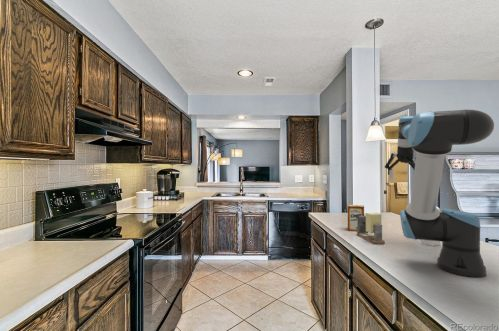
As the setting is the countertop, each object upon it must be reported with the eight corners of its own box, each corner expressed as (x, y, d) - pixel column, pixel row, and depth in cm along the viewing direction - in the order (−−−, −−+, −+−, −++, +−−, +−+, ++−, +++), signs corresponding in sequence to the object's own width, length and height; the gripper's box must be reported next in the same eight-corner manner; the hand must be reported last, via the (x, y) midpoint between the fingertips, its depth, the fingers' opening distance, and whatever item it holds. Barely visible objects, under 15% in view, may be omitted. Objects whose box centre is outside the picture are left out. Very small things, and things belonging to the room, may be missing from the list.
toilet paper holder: (384, 244, 136) (384, 222, 136) (373, 244, 135) (373, 222, 135) (366, 234, 154) (366, 215, 154) (356, 235, 153) (356, 215, 153)
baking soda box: (347, 230, 163) (347, 205, 163) (347, 228, 170) (347, 204, 169) (364, 232, 160) (364, 206, 160) (363, 229, 166) (363, 204, 166)
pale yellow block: (381, 233, 139) (381, 214, 139) (370, 233, 138) (370, 214, 138) (376, 230, 144) (376, 212, 144) (365, 230, 143) (365, 212, 143)
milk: (420, 243, 138) (420, 201, 138) (428, 241, 140) (428, 201, 140) (432, 246, 132) (432, 203, 132) (440, 245, 134) (440, 202, 134)
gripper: (435, 146, 130) (431, 186, 136) (385, 142, 150) (384, 176, 156) (429, 150, 126) (425, 190, 132) (378, 144, 146) (377, 180, 152)
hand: (403, 183), depth 144 cm, fingers open, 13 cm apart
